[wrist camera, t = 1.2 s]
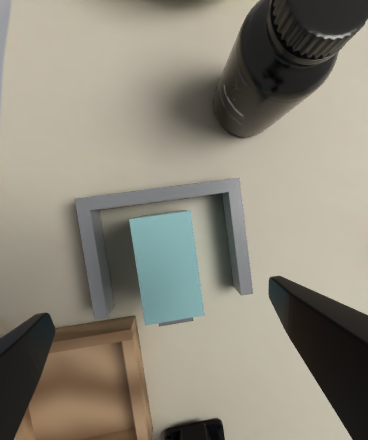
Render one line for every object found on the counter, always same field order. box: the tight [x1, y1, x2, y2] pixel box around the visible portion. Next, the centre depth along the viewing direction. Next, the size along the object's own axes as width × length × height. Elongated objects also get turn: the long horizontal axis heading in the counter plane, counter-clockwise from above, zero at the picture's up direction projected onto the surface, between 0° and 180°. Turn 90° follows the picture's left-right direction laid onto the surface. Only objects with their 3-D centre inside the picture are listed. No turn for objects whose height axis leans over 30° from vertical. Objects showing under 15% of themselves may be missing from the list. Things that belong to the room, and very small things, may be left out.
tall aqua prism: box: [129, 210, 205, 326], centre depth 19 cm, size 9×4×7 cm, turn 8°
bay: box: [75, 178, 253, 319], centre depth 21 cm, size 11×15×2 cm
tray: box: [14, 316, 153, 440], centre depth 21 cm, size 13×13×3 cm
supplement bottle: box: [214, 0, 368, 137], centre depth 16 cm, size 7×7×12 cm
